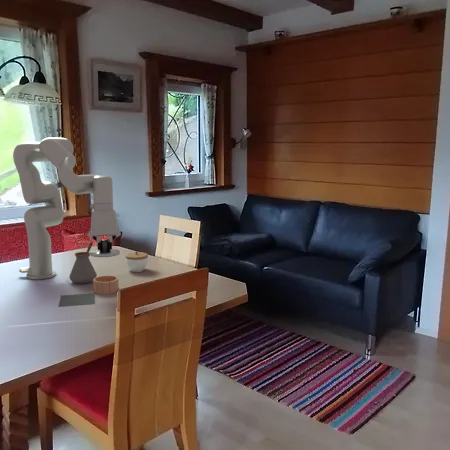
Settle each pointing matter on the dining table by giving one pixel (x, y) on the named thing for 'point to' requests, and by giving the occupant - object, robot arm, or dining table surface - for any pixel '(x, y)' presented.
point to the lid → (104, 250)
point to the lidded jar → (136, 261)
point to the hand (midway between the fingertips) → (104, 251)
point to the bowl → (105, 284)
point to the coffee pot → (83, 268)
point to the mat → (77, 299)
